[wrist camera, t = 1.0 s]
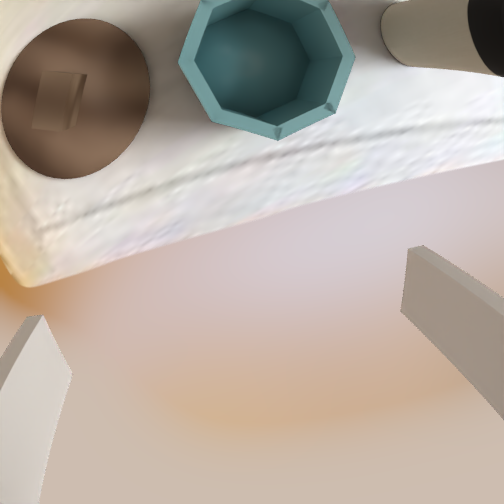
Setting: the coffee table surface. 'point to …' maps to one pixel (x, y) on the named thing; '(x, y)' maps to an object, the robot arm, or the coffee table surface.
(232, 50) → the bowl
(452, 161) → the coffee table surface
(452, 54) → the travel mug
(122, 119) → the lid
